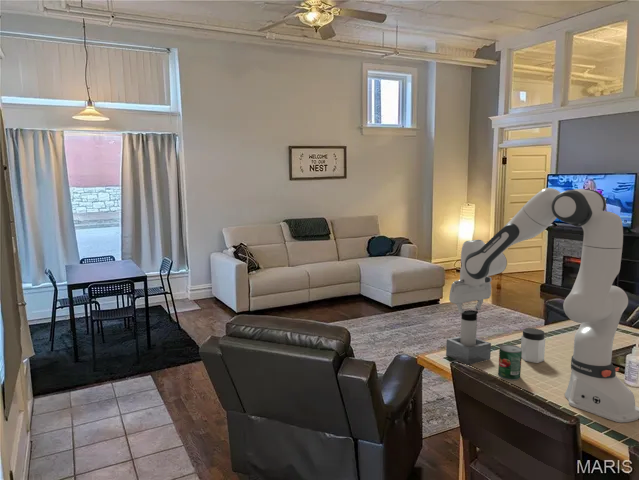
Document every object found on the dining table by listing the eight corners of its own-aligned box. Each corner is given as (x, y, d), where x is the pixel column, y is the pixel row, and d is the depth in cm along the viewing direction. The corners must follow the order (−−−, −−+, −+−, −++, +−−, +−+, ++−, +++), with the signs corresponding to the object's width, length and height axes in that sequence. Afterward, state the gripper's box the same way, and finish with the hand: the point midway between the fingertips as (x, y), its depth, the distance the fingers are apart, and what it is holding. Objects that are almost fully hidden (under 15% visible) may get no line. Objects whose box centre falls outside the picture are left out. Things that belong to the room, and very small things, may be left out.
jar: (517, 355, 198) (518, 327, 197) (536, 354, 198) (537, 327, 197) (527, 363, 189) (529, 334, 188) (547, 363, 190) (549, 334, 188)
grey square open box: (490, 359, 193) (491, 343, 192) (468, 365, 188) (468, 348, 187) (467, 349, 204) (468, 334, 203) (446, 354, 199) (446, 339, 198)
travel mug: (477, 360, 192) (479, 313, 190) (460, 359, 194) (462, 312, 191) (475, 355, 198) (477, 309, 196) (459, 353, 200) (460, 308, 197)
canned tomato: (493, 375, 178) (495, 347, 177) (505, 369, 183) (506, 342, 182) (513, 382, 172) (514, 353, 171) (524, 376, 177) (526, 348, 175)
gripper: (457, 282, 184) (456, 316, 186) (494, 277, 193) (492, 310, 195) (446, 279, 189) (445, 312, 191) (482, 274, 199) (481, 306, 201)
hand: (469, 311), depth 193 cm, fingers open, 8 cm apart
